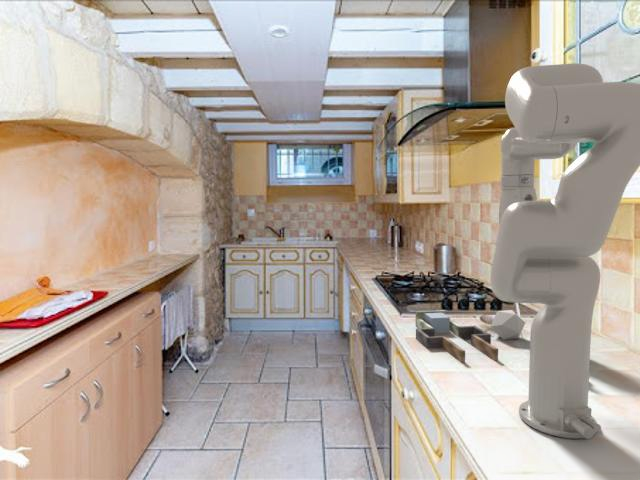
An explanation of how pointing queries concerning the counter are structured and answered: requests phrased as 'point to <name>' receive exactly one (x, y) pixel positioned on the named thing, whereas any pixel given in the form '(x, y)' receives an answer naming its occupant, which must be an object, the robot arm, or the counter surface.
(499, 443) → the counter surface
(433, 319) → the block
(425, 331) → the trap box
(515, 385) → the counter surface
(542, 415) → the robot arm
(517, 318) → the grey faceted solid
